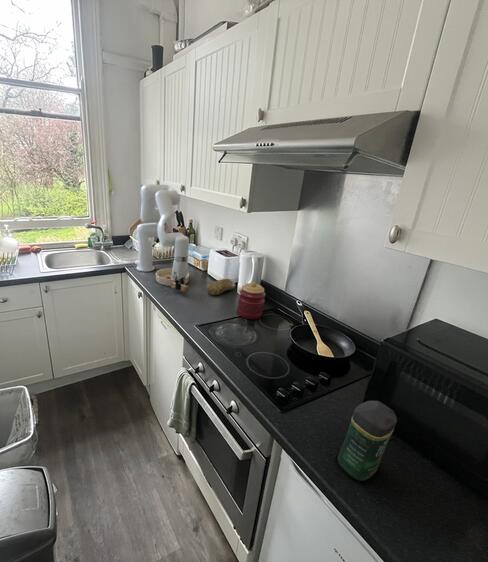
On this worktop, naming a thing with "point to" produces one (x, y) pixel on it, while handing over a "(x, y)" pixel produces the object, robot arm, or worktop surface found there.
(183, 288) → the stick
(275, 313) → the worktop surface
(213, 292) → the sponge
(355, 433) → the coffee jar
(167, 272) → the bowl
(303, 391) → the worktop surface
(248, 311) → the kitchen canister
